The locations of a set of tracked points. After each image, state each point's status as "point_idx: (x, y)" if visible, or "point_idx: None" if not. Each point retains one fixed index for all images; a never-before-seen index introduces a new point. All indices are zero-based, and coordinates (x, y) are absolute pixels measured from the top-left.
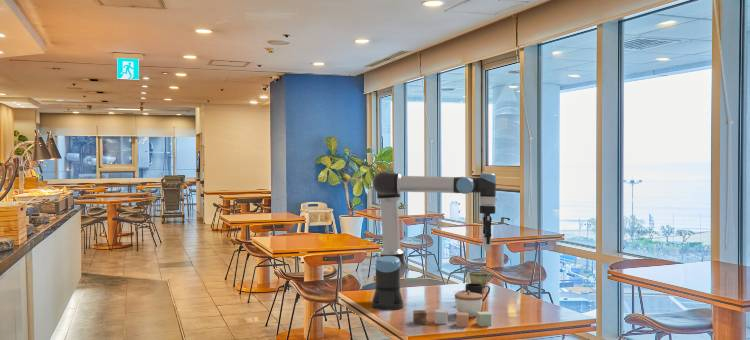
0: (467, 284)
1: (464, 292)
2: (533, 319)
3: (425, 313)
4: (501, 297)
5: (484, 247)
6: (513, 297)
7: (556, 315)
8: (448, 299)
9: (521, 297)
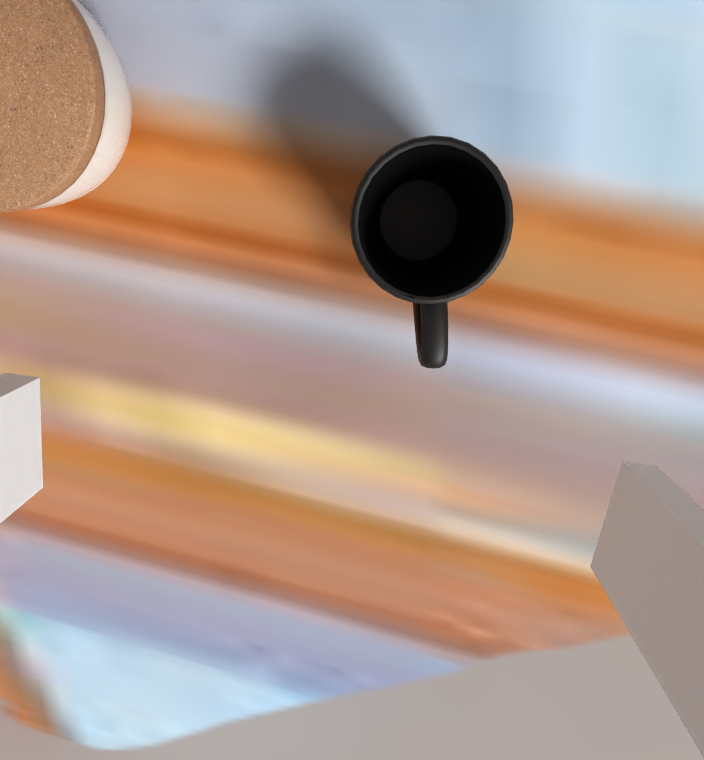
0: (480, 163)
1: (60, 52)
2: None
3: None
4: None
5: (614, 493)
6: None
7: (127, 628)
8: (620, 36)
9: None
